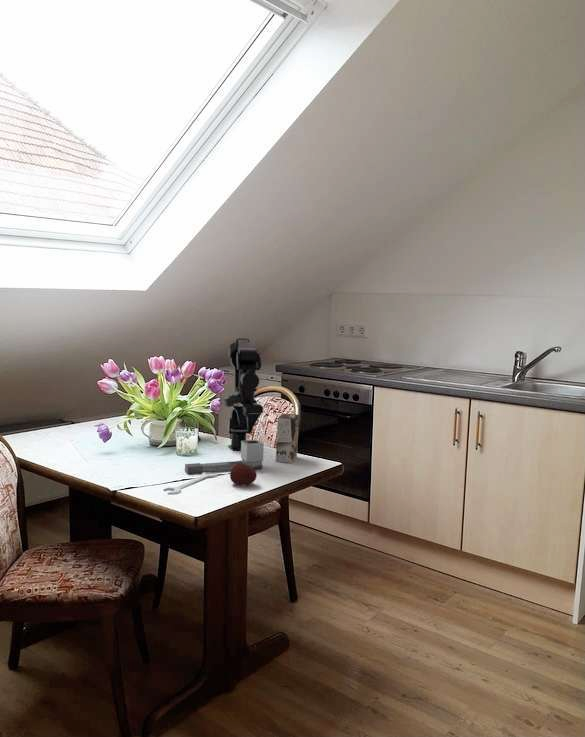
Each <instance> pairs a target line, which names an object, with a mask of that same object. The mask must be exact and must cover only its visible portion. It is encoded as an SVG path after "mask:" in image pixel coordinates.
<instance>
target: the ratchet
mask: <svg viewBox="0 0 585 737" xmlns="http://www.w3.org/2000/svg"><path fill="white" fill-rule="evenodd" d="M238 463H245V464H247V465H249V466H251V467H252V468H253V469H254V470H255V471H260V470H262V468H263V461H255V462H246V461H244V460H243V459H242V458H241V460H235V461H222V462H221V461H220V462H208V463H200V462H199V463H198V462H197V463H185V464H184V471H185V473H186V475H194V474H196V473H197V474H202V473H205V472H210V473H217V472H220V473H221V472H231V469H232V468H233V466H234V465H236V464H238Z"/></svg>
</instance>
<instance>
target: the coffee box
mask: <svg viewBox="0 0 585 737" xmlns="http://www.w3.org/2000/svg"><path fill="white" fill-rule="evenodd" d="M299 419H300V414H296V413H294V414H293V413H282V414H280V416H278V417H277V427H276V444H275V445H276V446H275V447H276V448H275V449H276V450H275V462H280V463H286V464H287V463H288V464H293V462H294V461H295V460H296V459H297V457H298V443H299V442H298V440H299V422H300V420H299Z"/></svg>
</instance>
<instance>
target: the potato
mask: <svg viewBox="0 0 585 737" xmlns="http://www.w3.org/2000/svg"><path fill="white" fill-rule="evenodd" d="M256 471H257V470H254V469H253V468H252V467H251V466H249V465H247V464H245V463H238V464H236V465H234V466H233V468H232V469H231V471H229V472H230V473H229V478H230V481H231V482H232V483H233V484H235V485H240V486H246V485H247V486H248V485H251V484H253V483H254V482H255V481H256V479H257V472H256Z"/></svg>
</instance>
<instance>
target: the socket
mask: <svg viewBox="0 0 585 737" xmlns="http://www.w3.org/2000/svg"><path fill="white" fill-rule="evenodd" d="M264 446H265V444H264V443H263V442H262V441H260V440H258V439H246V440H243V441H241V450H240V459H241V460H242V459H243V460H244V461H246V462H255V461H262V462H263V461H264V449H265V448H264Z"/></svg>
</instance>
